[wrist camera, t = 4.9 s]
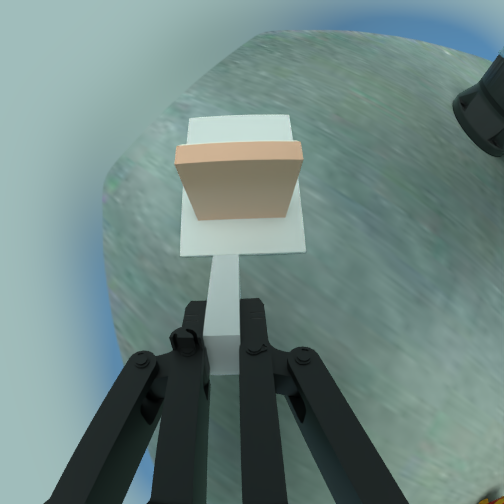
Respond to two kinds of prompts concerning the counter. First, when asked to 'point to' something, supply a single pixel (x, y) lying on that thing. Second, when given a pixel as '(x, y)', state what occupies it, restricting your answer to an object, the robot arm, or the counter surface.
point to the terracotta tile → (239, 177)
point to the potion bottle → (499, 503)
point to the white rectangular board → (241, 230)
